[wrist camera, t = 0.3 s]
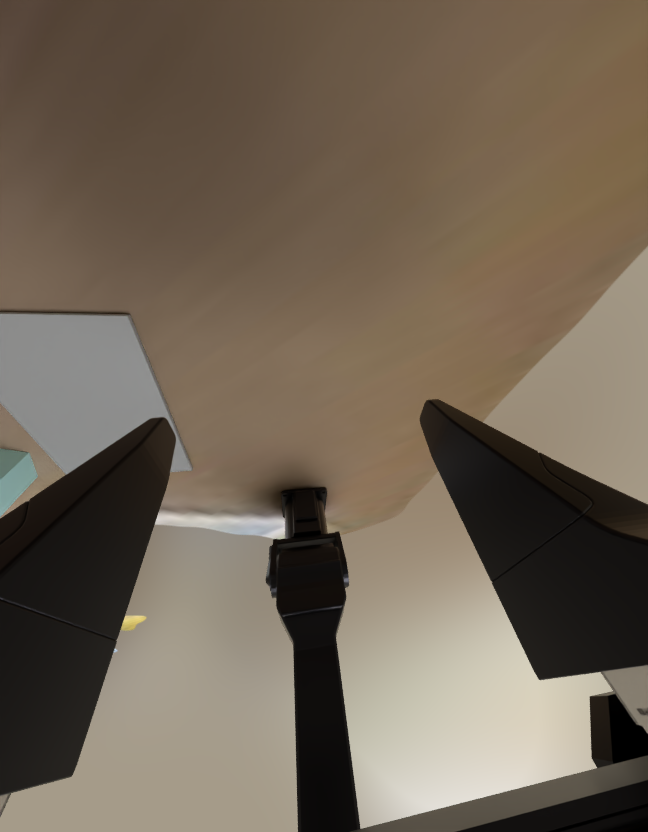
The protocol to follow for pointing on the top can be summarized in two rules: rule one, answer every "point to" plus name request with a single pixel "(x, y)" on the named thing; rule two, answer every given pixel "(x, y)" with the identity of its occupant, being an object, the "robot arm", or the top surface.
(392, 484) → the top surface
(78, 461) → the placemat
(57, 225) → the top surface
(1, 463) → the mint green pillar
